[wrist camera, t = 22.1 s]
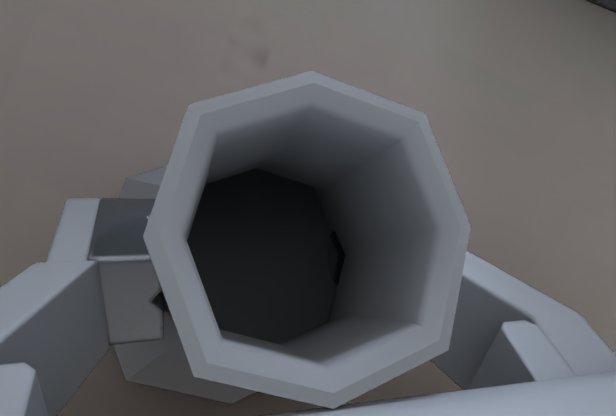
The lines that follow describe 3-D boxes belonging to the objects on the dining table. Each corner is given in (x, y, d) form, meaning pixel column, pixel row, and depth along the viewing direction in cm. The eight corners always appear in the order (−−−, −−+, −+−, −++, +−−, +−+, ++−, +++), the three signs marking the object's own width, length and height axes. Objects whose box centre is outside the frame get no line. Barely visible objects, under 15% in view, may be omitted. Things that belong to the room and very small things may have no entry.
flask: (93, 149, 14) (-110, -181, 4) (335, 152, 16) (583, -67, 6) (89, 418, 13) (-201, 825, 3) (351, 386, 14) (688, 575, 5)
